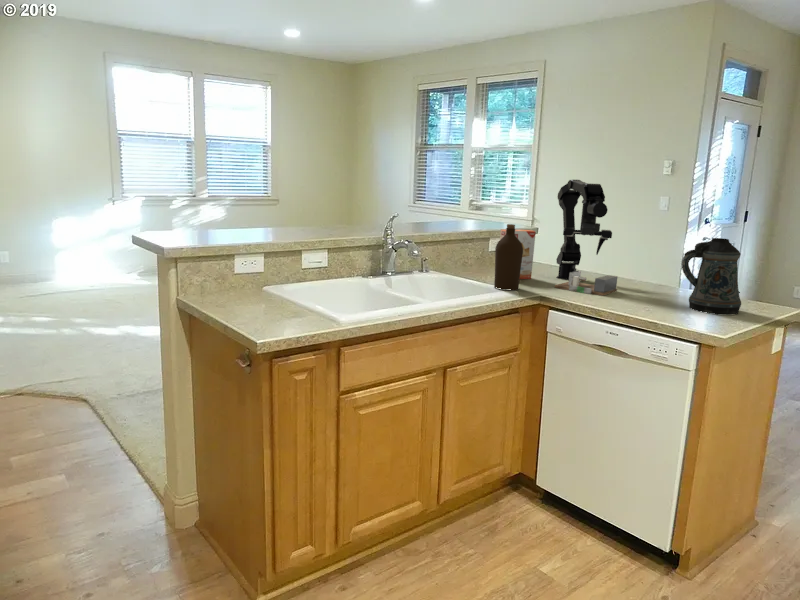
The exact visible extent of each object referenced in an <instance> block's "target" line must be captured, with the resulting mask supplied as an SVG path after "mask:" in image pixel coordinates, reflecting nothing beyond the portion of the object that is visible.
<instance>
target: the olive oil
mask: <svg viewBox="0 0 800 600" xmlns="http://www.w3.org/2000/svg"><path fill="white" fill-rule="evenodd" d="M505 229H506V235H505V236H504V237H503V238H502V239H501V240H500V239H499V240H498V241H497V243H496V246H495V248H494V249H495V251H494V252H495V253H494V254H495V255H494V257H495V258H494V260H495V261H494V282H493V285H494V287H493V288H495V287H497V288H501V289H511V290H510V291H518V290H519V286H520V279H519V278H520V270H521V263H522V255H523V246H522V244H521V242H520V241H519V240H518V238H517V237H516V236H515V230H516V224H511V223H509V224H506V228H505Z"/></svg>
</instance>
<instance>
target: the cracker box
mask: <svg viewBox="0 0 800 600" xmlns="http://www.w3.org/2000/svg"><path fill="white" fill-rule="evenodd" d="M536 232H537V231H535V230H532V229H515V236H516V237H517V238H518V240H519V241H520V242H521V244H522V246H523V255H522V263H521V270H520V278H519V280H531V279H532V271H533V264H534V254H535V253H534V252H535V243H536V242H535V241H536ZM505 235H506V228H505V229H500V235H499V236H500V237H499V241H500V240H501V239H502V238H503V237H504V236H505Z"/></svg>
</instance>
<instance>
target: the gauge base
mask: <svg viewBox="0 0 800 600" xmlns="http://www.w3.org/2000/svg"><path fill="white" fill-rule="evenodd" d="M568 283H569V281H566V282H561V283H558V284H555V285H554V289H559V290H560V289H561V290H567V291H571V292H575V293H580V294H581V293H582V294H587V295H596V296H597V295H598V296H606V295H609V293H610V294H612V292H613V293H616V292H617V291H618V288H616V289H614V290H611V291H608V292H605V293H602V292H596V291H594V286H595V284H590V283H583V282H580V283H579V286H573V285H568ZM615 291H616V292H615Z"/></svg>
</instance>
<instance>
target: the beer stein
mask: <svg viewBox="0 0 800 600" xmlns="http://www.w3.org/2000/svg"><path fill="white" fill-rule="evenodd" d="M740 257H741V251H740V250H738V248H737V247H735V246H734V245H733V244H732V243H731V242H730V239H728V238H721V237H720V238H719V237H713V238H711V240H709V241H704V242H703V241H701V242H698V243H696V244H695V246H694V249H691V250H688V251H686V252H685V253H684V254H683V257H682V260H681V269H682V272H683V274H684V276H685V278H686V279H687V280H688V282H689V283H690V284H691V285H692V286H693V287H694V288H693V290H692V292H691V294H690V295H689V296H688V304H689V305H688V306H689V308H690V309H691V308H692V309H691V310H693V309H694V310H693V311H696V310H698V311H697V312H700V311H702V312H701V313H704V312H707V313H706V314H710V313H715V314H714V315H718V314H735V315H737V314H736V313H739V312H740V311H739V310H741V306H742V300H741V296H740V291H739V274H738V273H739V270H738V269H739V268H738V263H739V262H738V261H739V259H740ZM694 258H696V259H697V258H699V259H701V263H700V266H699V269H698V272H697V277H695V276H694V274H693V273H692V272H691V271H692V270H691V268H690V266H689V263H690V261H691V260H692V259H694Z"/></svg>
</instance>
